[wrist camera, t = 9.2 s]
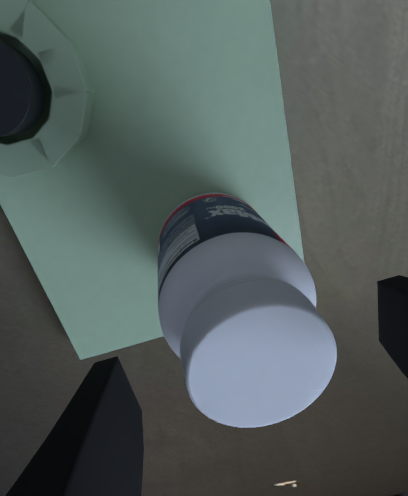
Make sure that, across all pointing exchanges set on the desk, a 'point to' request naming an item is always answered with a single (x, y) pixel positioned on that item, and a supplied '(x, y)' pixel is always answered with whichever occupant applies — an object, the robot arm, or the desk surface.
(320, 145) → the desk surface
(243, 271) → the pill bottle
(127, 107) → the green flat slab
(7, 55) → the button
